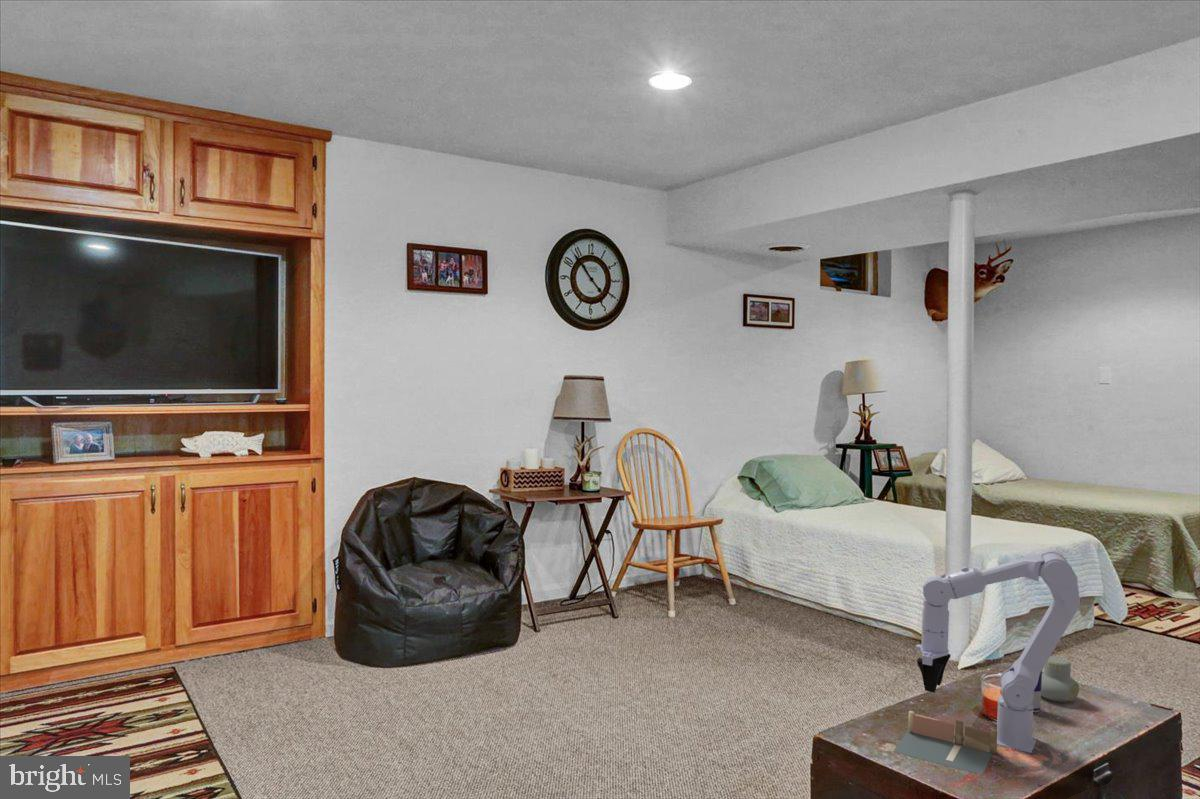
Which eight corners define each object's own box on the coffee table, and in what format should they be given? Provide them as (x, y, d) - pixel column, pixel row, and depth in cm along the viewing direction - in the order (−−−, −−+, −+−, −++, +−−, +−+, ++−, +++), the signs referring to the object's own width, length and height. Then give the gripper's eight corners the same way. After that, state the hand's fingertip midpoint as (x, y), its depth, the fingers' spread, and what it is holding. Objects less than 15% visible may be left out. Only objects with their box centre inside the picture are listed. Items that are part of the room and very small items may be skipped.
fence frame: (955, 741, 189) (956, 719, 189) (997, 752, 185) (997, 729, 185) (954, 744, 188) (955, 721, 188) (995, 754, 183) (996, 731, 183)
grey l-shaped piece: (1065, 708, 212) (1066, 669, 212) (1030, 698, 219) (1032, 660, 218) (1081, 698, 220) (1083, 660, 219) (1047, 689, 226) (1049, 652, 226)
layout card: (909, 730, 196) (909, 728, 196) (994, 751, 186) (994, 749, 186) (892, 753, 184) (892, 751, 184) (982, 776, 174) (982, 774, 174)
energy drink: (1044, 711, 210) (1046, 663, 210) (1032, 715, 207) (1034, 666, 207) (1024, 703, 215) (1026, 656, 214) (1011, 707, 212) (1013, 660, 212)
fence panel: (953, 740, 189) (954, 721, 189) (952, 742, 188) (953, 722, 188) (908, 729, 195) (909, 710, 195) (907, 731, 194) (908, 712, 194)
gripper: (924, 619, 204) (922, 675, 205) (909, 633, 192) (907, 692, 193) (955, 624, 201) (953, 681, 201) (942, 639, 188) (939, 700, 189)
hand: (932, 687), depth 196 cm, fingers open, 5 cm apart
